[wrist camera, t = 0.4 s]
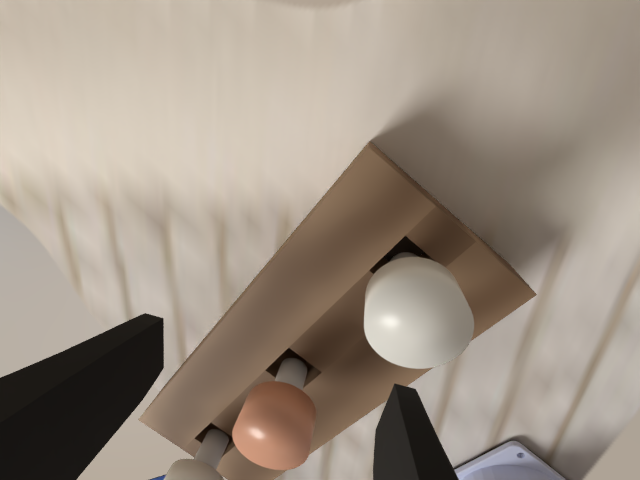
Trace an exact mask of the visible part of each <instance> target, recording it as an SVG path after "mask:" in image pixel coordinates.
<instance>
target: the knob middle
mask: <svg viewBox="0 0 640 480" xmlns="http://www.w3.org/2000/svg"><path fill="white" fill-rule="evenodd" d="M306 375H307V367H306V365H305V364H304V363H303V362H302V361H301V360H299V359H296V358H287V359H285V360H283V361H282V363H281V365H280V368H279V371H278V373H277V376H276V379H275V381H269V382H263V383H260V384H258V385H256V386H255V387H254V388H252V390H251V391H250V392H249V394H248V396H247V399H246V401H245V403H244V405H243V407H242V410H241V412H240V414H239V416H238V418H237V421H236V423H235V425H234V428H233V431H232V437H233V441H234V444H235V446H236V447H237V449H238V450H239V451H240V452H241V454H243V455H244V456H245V457H246V458H247V459H249V460H250V461H252V462H253V463H255V464H257V465H260V466H262V467H265V468H269V469H274V470H289V469H293V468H296V467H298V466H300V465H302V464H303V463H304V462H305V461H306V460H307V458H308V455H309V451H310V446H311V441H312V436H313V431H314V426H315V420H316V408H315V405H314V403H313V401H312V400H311V399H310V397H309V396H308V395H307V394H306V393H305V392H303V391H302V390H303V386H304V382H305V379H306Z"/></svg>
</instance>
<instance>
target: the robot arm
mask: <svg viewBox="0 0 640 480" xmlns="http://www.w3.org/2000/svg"><path fill="white" fill-rule="evenodd" d="M163 368H164V343H163V318H160V317H156V316H153V315H149V314H146V313H145V314H143V315H140V316H138V317H136V318H133V319H131V320H129V321H127V322H125V323H123V324H120V325H118V326H116V327H114V328H112V329H110V330H108V331H106V332H104V333H102V334H99V335H98V336H95V337H93V338H91V339H89V340H86V341H84V342H82V343H80V344H78V345H76V346H73V347H71V348H69V349H67V350H65V351H63V352H60V353H58V354H56V355H53V356H51V357H49V358H46V359H44V360H42V361H39V362H37V363H35V364H33V365H30V366H28V367H25V368H23V369H21V370H18V371H16V372H13V373H11V374H9V375H6V376H4V377H1V378H0V480H76V479H77V478H78V477H79V476H80V474H81V473H82V472H83V471H84V470H85V468H86V467H87V466H88V465H89V464H90V462H91V461H92V460H93V459H94V458H95V456H96V455H97V454H98V453H99V452H100V450H101V449H102V448H103V447H104V446H105V444H106V443H107V442H108V441H109V440H110V438H111V437H112V436H113V435H114V434H115V433H116V431H117V430H118V429H119V428H120V427H121V425H122V424H123V423H124V422H125V420H126V419H127V418H128V417H129V416H130V415H131V413H132V412H133V411H134V410H135V408H136V407H137V406H138V405H139V404H140V402H141V401H142V400H143V398H144V397H145V395H146V394H147V392H148V391H149V390H150V388H151V387H152V385H153V384H154V382H155V381H156V379H157V377H158V376H159V374H160V373H161V371H162V370H163ZM373 480H566V479H565V478H564V477H562V476H561V475H560V474H559V473H557V472H556V471H555V470H554V469H552V468H551V467H550V466H548V465H547V464H546V463H545V462H543V461H542V460H541V459H540V458H538V457H537V456H536V455H535V454H533V453H532V452H531V451H529V450H528V449H527V448H526V447H524V446H523V445H522V444H521V443H519V442H517V441H509V442H507V443H505V444H503V445H501V446H499V447H497V448H496V449H494V450H492V451H490V452H488V453H486V454H484V455H482V456H480V457H478V458H476V459H474V460H472V461H470V462H469V463H467V464H465V465H463V466H461V467H459V468H457V469H455V470H454V469H453V467H452V465H451V463H450V461H449V459H448V457H447V455H446V453H445V451H444V449H443V447H442V445H441V443H440V441H439V439H438V437H437V434H436V432H435V430H434V428H433V426H432V424H431V422H430V419H429V417H428V415H427V413H426V411H425V408H424V406H423V404H422V402H421V399H420V397H419V395H418V393H417V391H416V389H413V388H410V387H406V386H403V385H399V384H395V383H394V386H393V388H392V391H391V393H390V396H389V398H388V401H387V403H386V406H385V408H384V411H383V413H382V416H381V418H380V421H379V423H378V426H377V428H376V434H375V448H374V464H373Z"/></svg>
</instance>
